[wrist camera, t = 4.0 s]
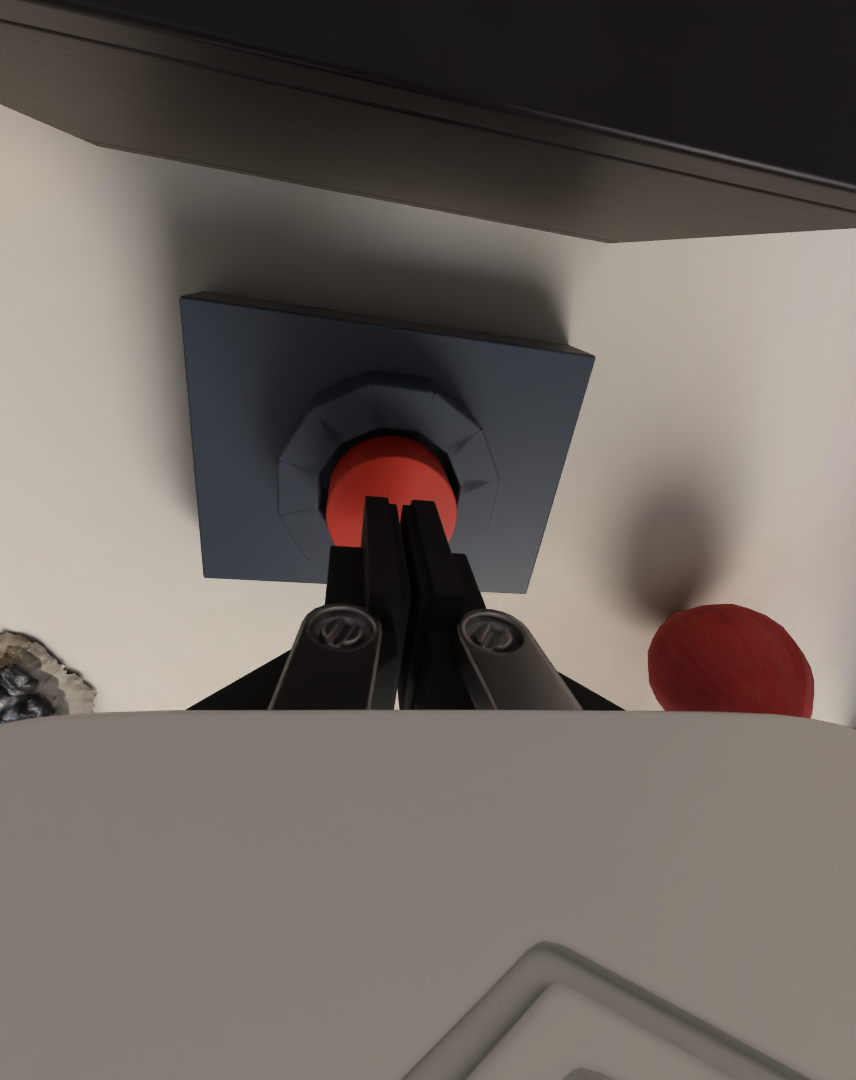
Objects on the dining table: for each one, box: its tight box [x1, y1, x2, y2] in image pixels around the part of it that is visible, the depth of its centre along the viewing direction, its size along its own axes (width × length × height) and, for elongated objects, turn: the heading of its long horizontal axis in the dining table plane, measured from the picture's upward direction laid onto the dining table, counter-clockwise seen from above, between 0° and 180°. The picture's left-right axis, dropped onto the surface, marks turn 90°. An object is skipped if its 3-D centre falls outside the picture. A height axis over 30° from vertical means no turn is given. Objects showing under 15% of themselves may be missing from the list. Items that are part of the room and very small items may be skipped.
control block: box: [180, 291, 595, 594], centre depth 16 cm, size 12×9×4 cm
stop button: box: [326, 435, 457, 547], centre depth 14 cm, size 4×4×2 cm
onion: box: [648, 604, 814, 718], centre depth 21 cm, size 6×6×8 cm
